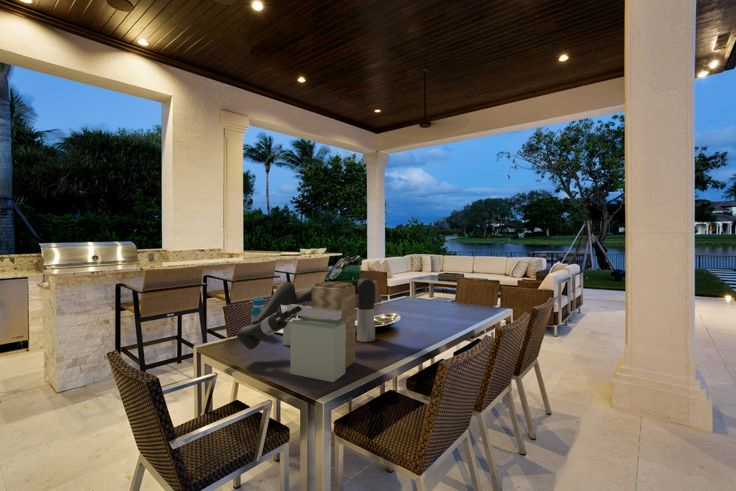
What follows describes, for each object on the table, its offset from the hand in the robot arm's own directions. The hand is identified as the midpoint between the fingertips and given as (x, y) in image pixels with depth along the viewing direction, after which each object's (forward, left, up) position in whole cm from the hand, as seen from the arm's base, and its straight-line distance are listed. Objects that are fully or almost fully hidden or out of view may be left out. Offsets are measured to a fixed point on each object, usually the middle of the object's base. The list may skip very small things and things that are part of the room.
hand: (302, 307), depth 147 cm
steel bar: (-4, +3, -3) cm, 6 cm away
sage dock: (-6, +4, -27) cm, 28 cm away
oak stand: (-14, -6, -27) cm, 30 cm away
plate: (+4, -67, -27) cm, 72 cm away
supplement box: (+5, -39, -27) cm, 48 cm away
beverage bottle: (+24, -61, -27) cm, 71 cm away
